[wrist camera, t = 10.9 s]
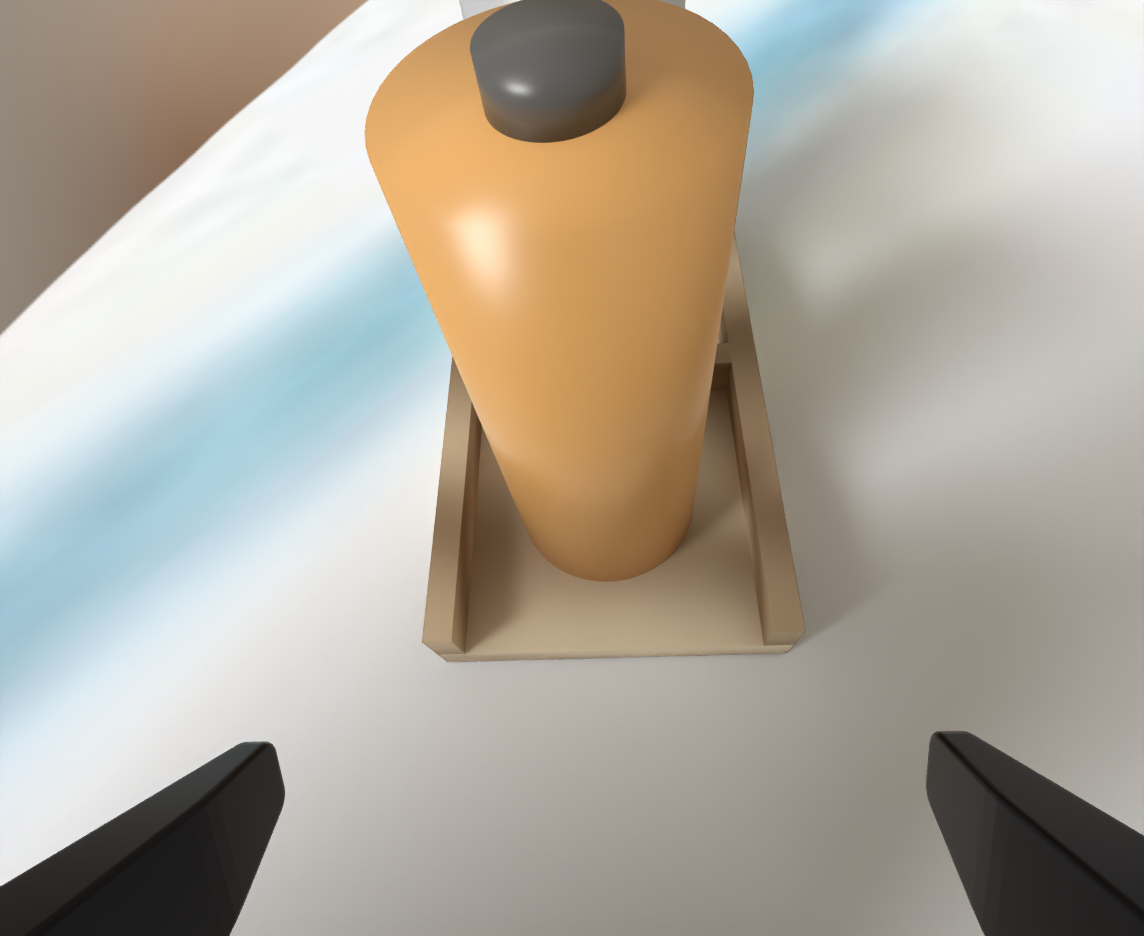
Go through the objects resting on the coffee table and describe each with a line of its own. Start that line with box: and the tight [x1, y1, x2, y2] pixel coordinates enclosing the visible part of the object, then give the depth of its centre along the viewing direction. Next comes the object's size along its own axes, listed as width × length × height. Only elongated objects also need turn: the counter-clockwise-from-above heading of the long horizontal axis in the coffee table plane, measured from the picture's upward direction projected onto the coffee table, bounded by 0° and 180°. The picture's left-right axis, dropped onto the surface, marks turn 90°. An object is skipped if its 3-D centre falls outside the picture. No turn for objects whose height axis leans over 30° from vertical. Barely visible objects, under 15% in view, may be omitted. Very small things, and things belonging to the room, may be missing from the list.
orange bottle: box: [365, 0, 754, 582], centre depth 14 cm, size 5×5×14 cm
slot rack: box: [422, 233, 805, 662], centre depth 22 cm, size 18×10×2 cm, turn 0°
